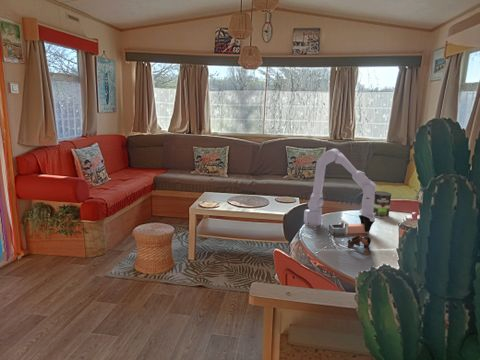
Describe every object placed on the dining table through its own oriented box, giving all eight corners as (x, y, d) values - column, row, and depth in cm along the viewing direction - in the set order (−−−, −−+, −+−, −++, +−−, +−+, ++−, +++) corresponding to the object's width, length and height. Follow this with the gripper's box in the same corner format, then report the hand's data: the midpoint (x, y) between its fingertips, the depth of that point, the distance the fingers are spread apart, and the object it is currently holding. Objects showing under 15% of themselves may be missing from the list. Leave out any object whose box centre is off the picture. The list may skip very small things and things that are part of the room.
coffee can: (390, 218, 211) (393, 195, 208) (372, 217, 213) (375, 194, 210) (386, 213, 221) (389, 191, 218) (369, 212, 223) (371, 190, 220)
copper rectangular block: (346, 233, 183) (347, 226, 182) (344, 231, 187) (344, 224, 186) (369, 233, 184) (369, 225, 183) (366, 230, 187) (367, 223, 186)
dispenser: (333, 238, 180) (334, 224, 178) (327, 231, 190) (328, 218, 188) (370, 237, 181) (371, 224, 179) (362, 230, 191) (363, 218, 189)
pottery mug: (364, 258, 158) (355, 241, 158) (349, 259, 166) (341, 244, 166) (379, 246, 164) (371, 230, 164) (364, 248, 172) (356, 232, 172)
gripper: (381, 209, 175) (379, 235, 178) (369, 201, 190) (367, 225, 193) (367, 209, 175) (365, 235, 178) (356, 201, 189) (354, 225, 192)
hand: (365, 230), depth 185 cm, fingers closed on copper rectangular block, 3 cm apart
